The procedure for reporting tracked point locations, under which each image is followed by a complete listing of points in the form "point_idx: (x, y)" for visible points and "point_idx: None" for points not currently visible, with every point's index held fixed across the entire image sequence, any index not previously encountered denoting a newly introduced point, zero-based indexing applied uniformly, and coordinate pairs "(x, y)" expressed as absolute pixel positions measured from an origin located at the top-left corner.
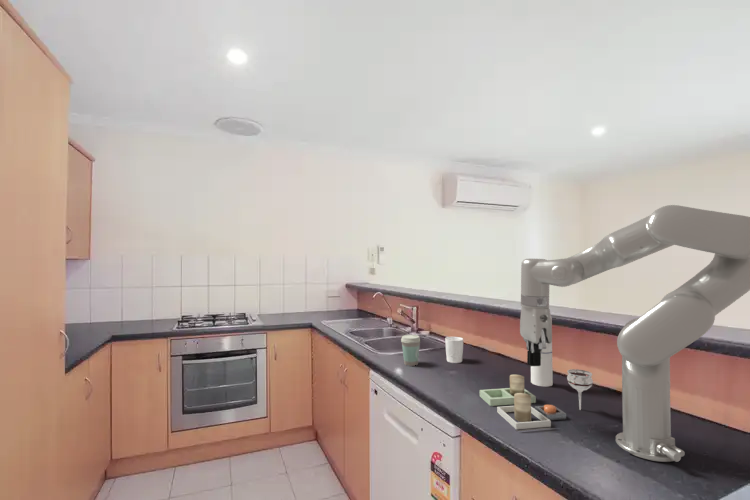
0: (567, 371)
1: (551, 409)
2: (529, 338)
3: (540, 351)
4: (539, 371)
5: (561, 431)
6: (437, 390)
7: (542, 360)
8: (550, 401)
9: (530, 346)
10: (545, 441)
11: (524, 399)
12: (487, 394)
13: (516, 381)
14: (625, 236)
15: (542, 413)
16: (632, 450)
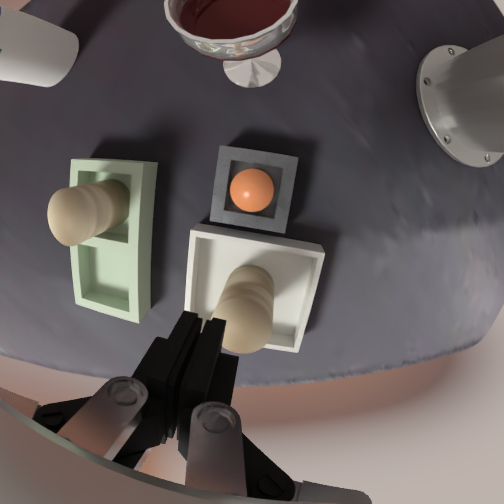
0: (186, 34)
1: (270, 200)
2: None
3: (238, 428)
4: (30, 64)
5: (338, 221)
6: (49, 342)
7: (8, 48)
8: (144, 92)
9: (133, 451)
10: (360, 302)
11: (268, 339)
12: (105, 306)
13: (91, 234)
14: None
15: (260, 228)
16: (482, 166)
